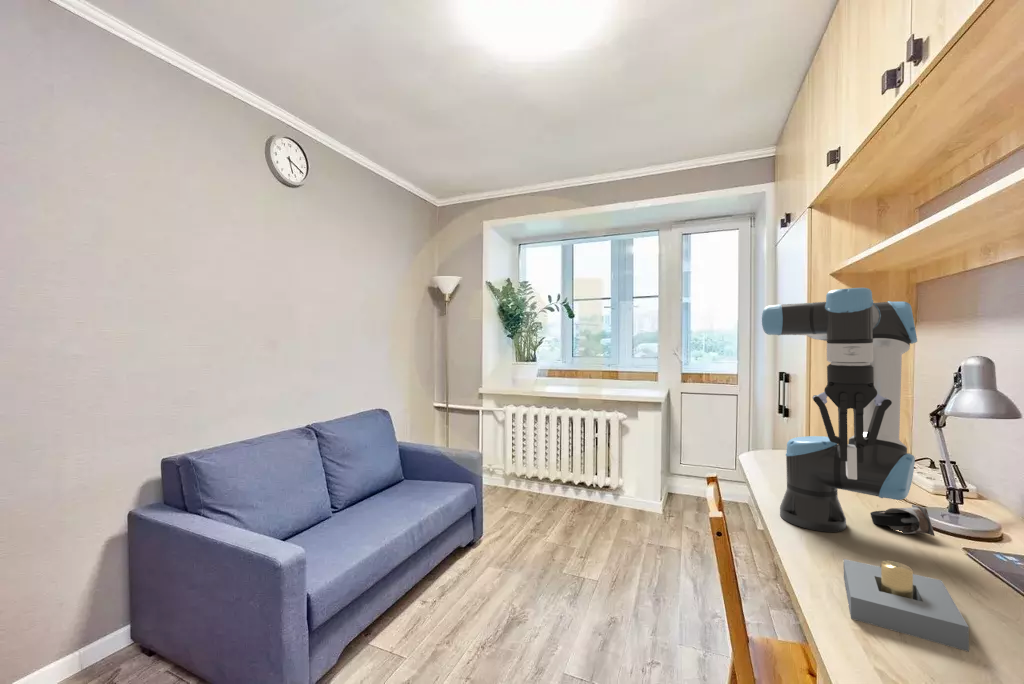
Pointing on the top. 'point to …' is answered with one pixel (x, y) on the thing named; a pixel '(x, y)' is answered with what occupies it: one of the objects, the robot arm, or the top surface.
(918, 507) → the caster wheel
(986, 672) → the top surface
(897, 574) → the gold metal cylinder
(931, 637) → the jig
